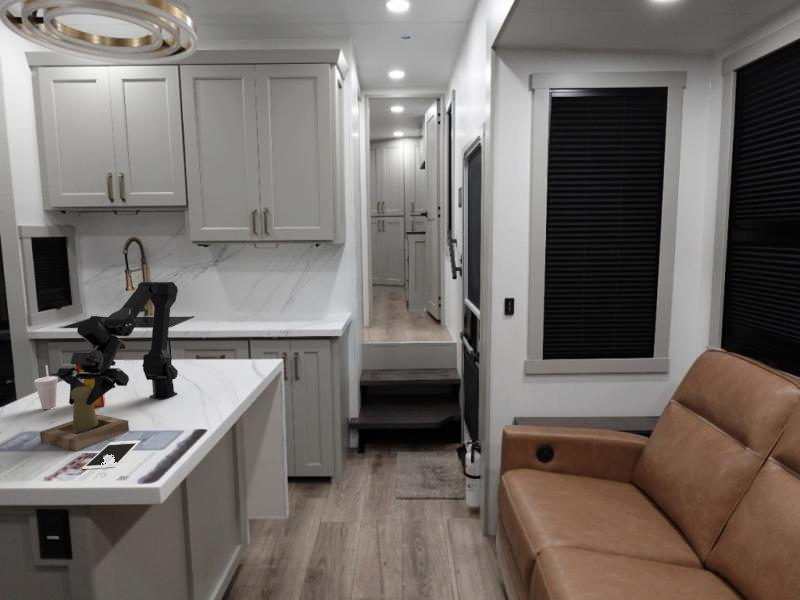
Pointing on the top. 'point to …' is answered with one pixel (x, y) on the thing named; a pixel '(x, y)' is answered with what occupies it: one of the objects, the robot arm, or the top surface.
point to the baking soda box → (91, 383)
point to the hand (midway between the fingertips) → (79, 404)
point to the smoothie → (47, 390)
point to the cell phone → (114, 448)
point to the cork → (83, 409)
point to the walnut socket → (70, 440)
